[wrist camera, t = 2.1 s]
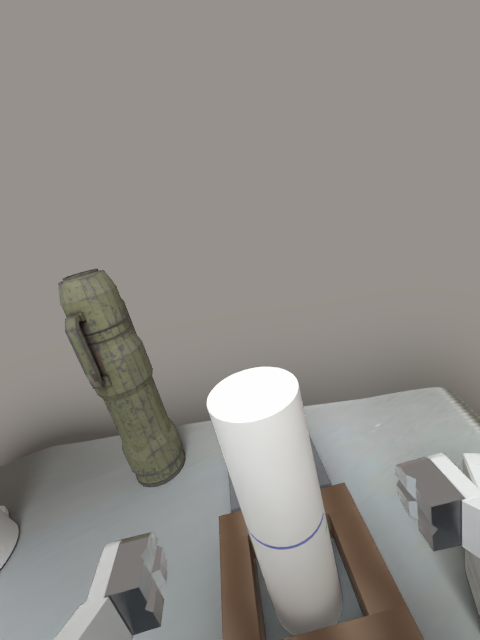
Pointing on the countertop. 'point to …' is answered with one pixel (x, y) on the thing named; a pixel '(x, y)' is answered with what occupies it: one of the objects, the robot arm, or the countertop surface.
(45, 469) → the countertop surface
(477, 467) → the skincare box
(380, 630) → the pocket block
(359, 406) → the countertop surface
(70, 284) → the thermos
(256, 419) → the cylindrical container
